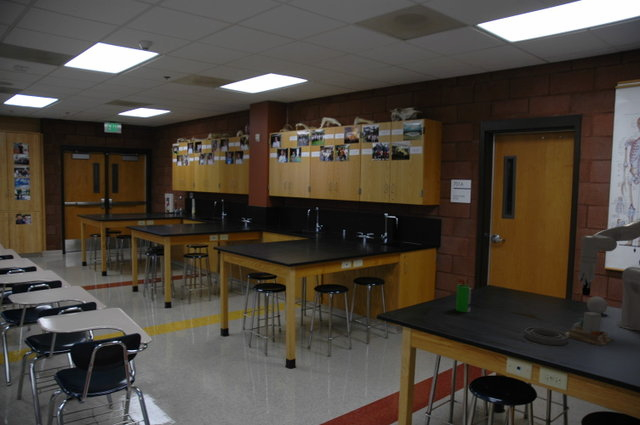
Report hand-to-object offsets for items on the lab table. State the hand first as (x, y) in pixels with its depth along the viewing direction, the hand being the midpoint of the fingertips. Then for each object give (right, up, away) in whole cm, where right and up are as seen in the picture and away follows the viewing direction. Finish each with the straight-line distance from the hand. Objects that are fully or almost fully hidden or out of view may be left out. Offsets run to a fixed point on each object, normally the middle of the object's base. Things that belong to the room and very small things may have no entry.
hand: (585, 295), depth 241 cm
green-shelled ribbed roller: (-55, -14, +26) cm, 63 cm away
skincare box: (-8, -17, -19) cm, 27 cm away
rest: (-9, -17, -17) cm, 26 cm away
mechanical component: (-30, -18, -20) cm, 40 cm away
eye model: (+23, -16, +29) cm, 40 cm away
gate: (-8, -16, -6) cm, 19 cm away
